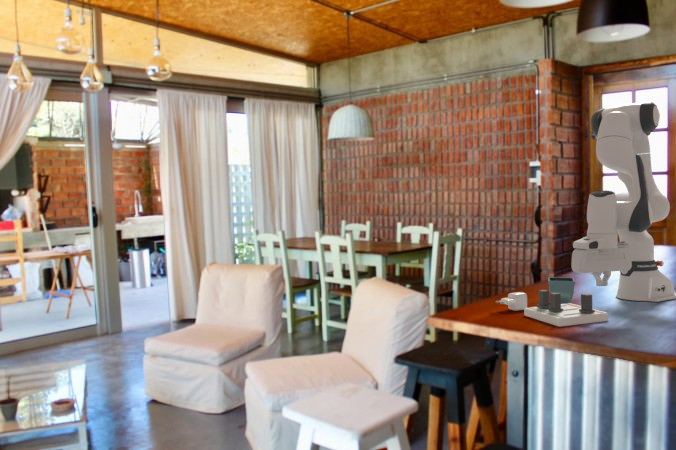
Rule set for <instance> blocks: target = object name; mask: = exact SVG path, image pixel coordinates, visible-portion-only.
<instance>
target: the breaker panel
mask: <svg viewBox="0 0 676 450" xmlns="http://www.w3.org/2000/svg"><path fill="white" fill-rule="evenodd" d="M561 308H562V309H563V311H560V312H552V311H549V310H548V308H545V309H542V308H538V307H537V306H531V307H527V308H524V310H523V312H524V313H523V314H524V315H523V316H525V317H527V318H528V317H529V318H531V319H534V320H537V321H541V322H543V323H546V324H550V325H552V326H553V325H554V326H555V327H568V326H569V327H570V326H576V325H577V326H578V325H583V324H584V325H585V324H591V323H599V322H608V321H609V313H608V312H607V311H602V310H600V309H599V310H598V309H595V308H592V309H593V310H595V313H582V312H579V309H581V305H579V304H576V303H572V302H570V303H566V304H561Z"/></svg>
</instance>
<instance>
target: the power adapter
mask: <svg viewBox="0 0 676 450" xmlns="http://www.w3.org/2000/svg"><path fill="white" fill-rule="evenodd" d="M495 303H496V304H498V303H499V304H500V305H506V306H508V307H507V308H508V310H511V311H524V308H528V295H527V293H525V292H523V291H517V292H516V291H515V292H510V293H508V294H507V297H503V298H500V300H496V301H495Z"/></svg>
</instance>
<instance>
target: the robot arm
mask: <svg viewBox="0 0 676 450" xmlns="http://www.w3.org/2000/svg"><path fill="white" fill-rule="evenodd" d="M660 115H661V114H660V111H659V109H658V106H657V105H656V103H654V102H651V101H642V102H633V103H631V102H630V103H623V104H621V105H615V106H611V107H608V108H604V107H603V108H600V109H598V110H595V112H594V113H593V114H592V116H591V117H590V119H591V120H590V128H591V131H592V134H593V135H594V136H596V144H595V155H596V159H597V161H598V162H599V163H600V164H601V165H603V166H604V167H606V168H608V169H609V170H612V171H616V172H617V177H618V179H619V180H620V181H621V182H622V183H623V184H624V185H625V187H626V189H627V192H621V193H616V192H615V191H611V190H597V191H593V192H591V193H589V196H588V200H587V202H588V203H587V207H586V208H587V209H586V223H587V230H586V236H583V237H582V238H580V239H577V240H575V241H573V242H572V247H573V249H574V250H573V251H572V253H571V262H570V263H571V270H572V271H573V273H575V274H591V273H592V276H593V278H594V279H595V285H596V286H597V287H607V286H609V284H608V283H609V282H608V281H609V279H610V278H611V275H612V272H620V273H619V280H618V287H617V292H616V295H615V297H616V298H618V299H621V300H626V301H635V302H636V301H637V302H639V301H640V302H653V303H654V302H658V303H659V302H664V301H668V300H674V299H676V292H675V285H674V281H673V280H672V279H671V278H669V277H668V276H666V274H664V273H663V272H661V271H660V270H659V267H663V266H664V264H665V262H664V261H663V260H655V249H654V248H655V245H654V243H655V242H654V241H655V240H654V238H653V237H652V235H651V234H650V233H649V232H648V231H647V230H648V229H649V228H651V226H652V224H653V223H656V222H661V221H663V220H665V219H666V218H667V217H668V215H669V213H670V211H671V210H670V209H671V206H670V205H671V204H670V201H669V199H668V198H667V197H666V196H665V195H663V193H661V191H660V190H659V188H658V186H657V185H656V182H655V179H654V175H653V170H652V158H651V157H652V156H651V147H650V141H649V137H648V136H650V135H651V133H652V132H654V131H655V130H656V129H657V127H658V126H659V123H660ZM618 238H619V241H618ZM602 275H603V277H601V276H602Z"/></svg>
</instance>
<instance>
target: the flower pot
mask: <svg viewBox="0 0 676 450" xmlns="http://www.w3.org/2000/svg"><path fill="white" fill-rule="evenodd" d="M547 281H548V291H549V294H550V293H559V294H561V304H566V303H572V301H573V297H574V292H575V282H576V281H575V279H574V277H554V276H553V277H547Z"/></svg>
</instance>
